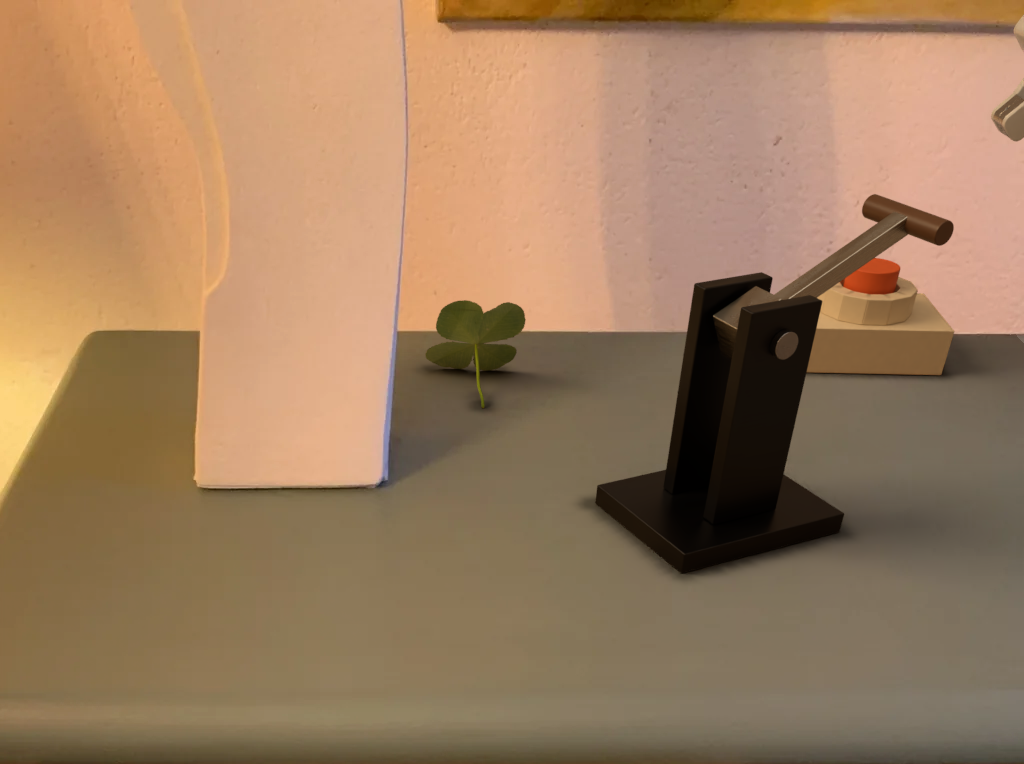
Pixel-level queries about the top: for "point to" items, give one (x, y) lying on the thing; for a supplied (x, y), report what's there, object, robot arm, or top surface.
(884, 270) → the button
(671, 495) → the black lever stand
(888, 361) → the button block
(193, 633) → the top surface
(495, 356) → the seedling
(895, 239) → the lever handle
